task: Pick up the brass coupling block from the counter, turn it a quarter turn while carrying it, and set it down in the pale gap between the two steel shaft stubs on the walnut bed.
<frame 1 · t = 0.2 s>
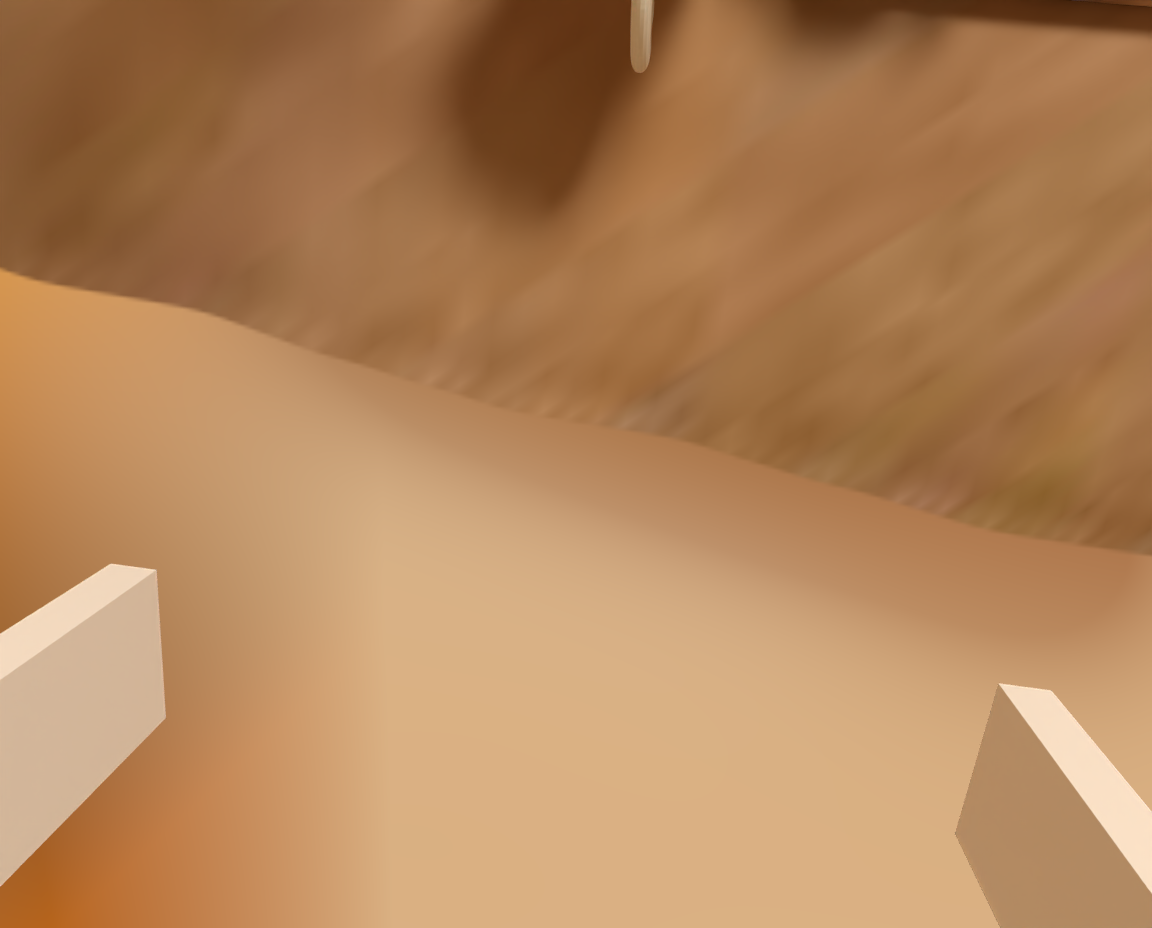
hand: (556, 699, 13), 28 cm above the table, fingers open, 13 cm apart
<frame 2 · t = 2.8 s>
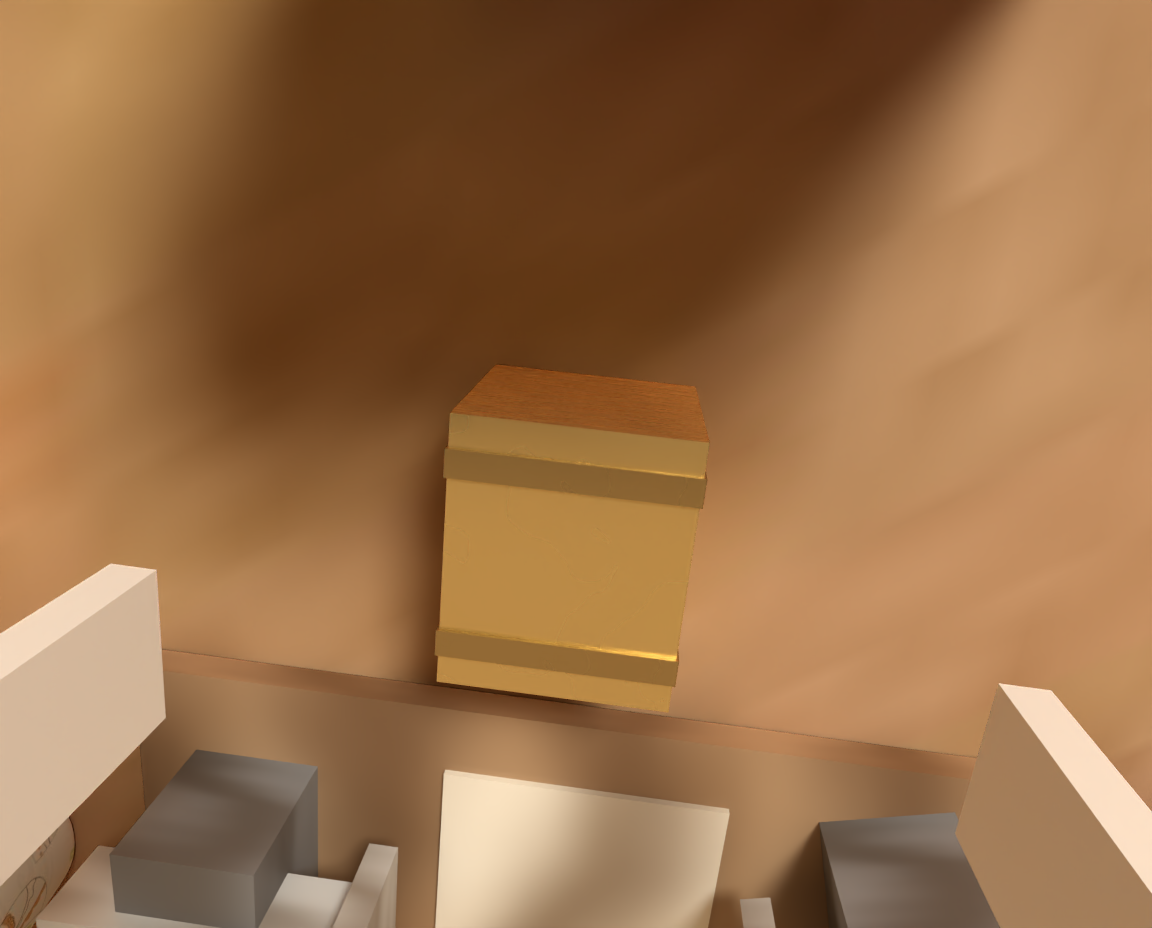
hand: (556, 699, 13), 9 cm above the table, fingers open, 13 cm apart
shaft bed: (576, 860, 25), on the table
mug: (3, 869, 27), on the table
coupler: (583, 488, 21), on the table
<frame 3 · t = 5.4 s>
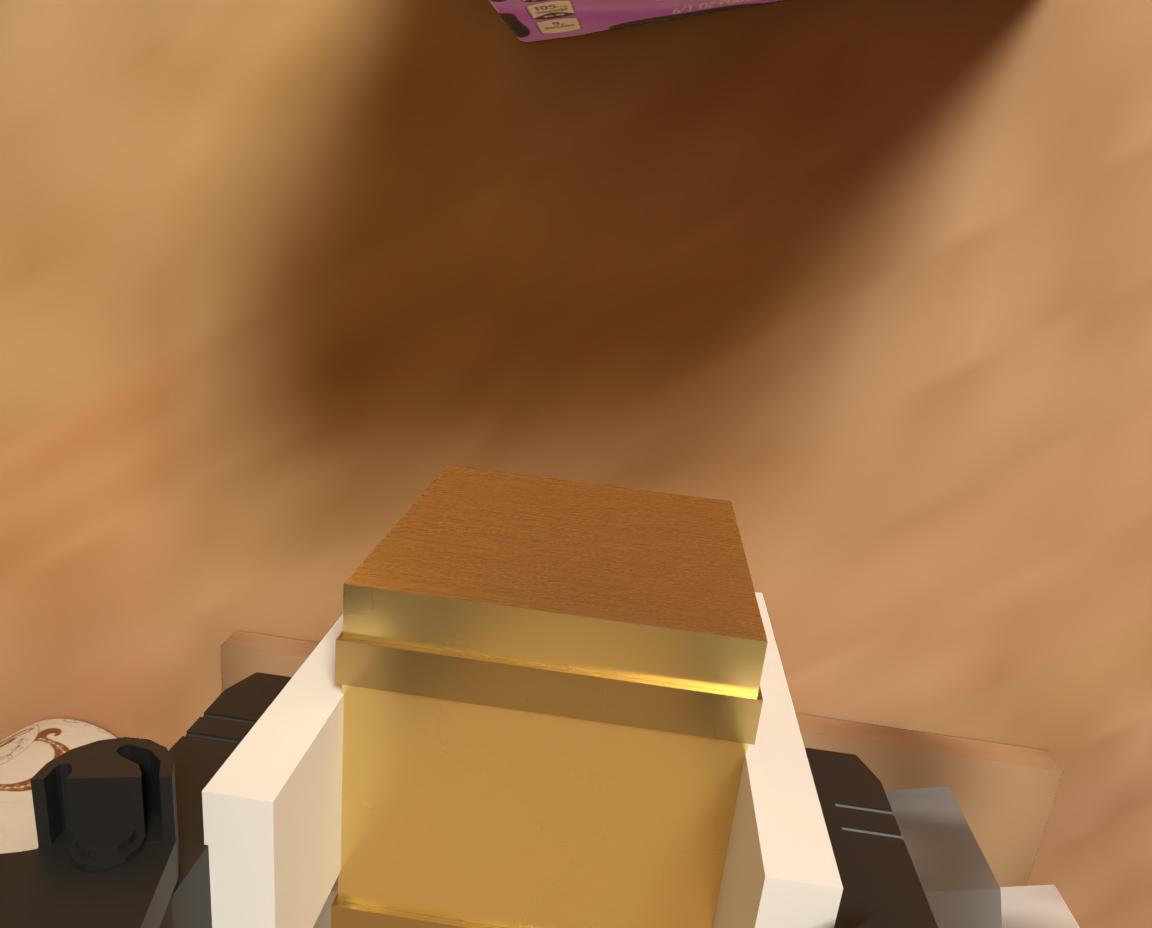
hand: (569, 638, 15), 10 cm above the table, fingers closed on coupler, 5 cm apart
shaft bed: (607, 830, 28), on the table
mug: (91, 833, 30), on the table
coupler: (571, 635, 15), point 10 cm above the table, touching gripper
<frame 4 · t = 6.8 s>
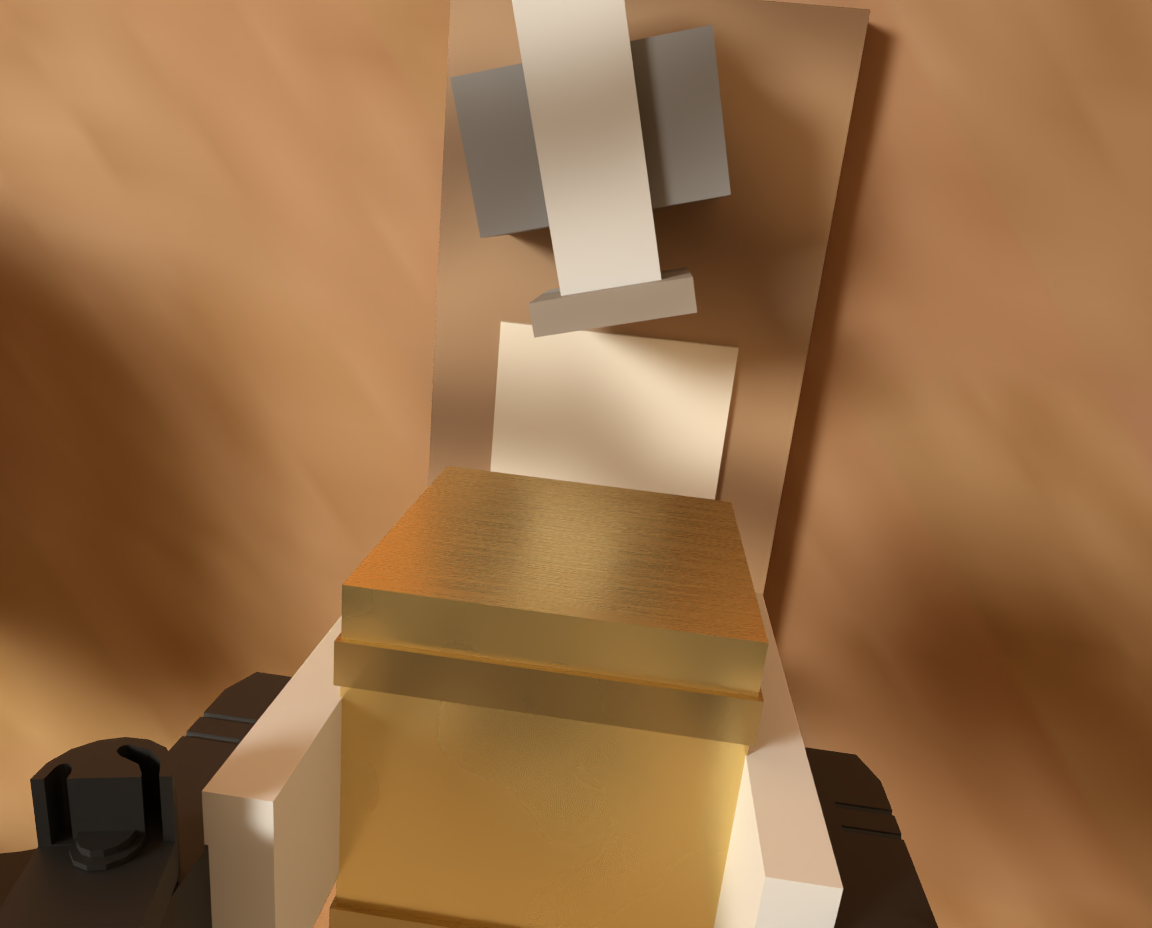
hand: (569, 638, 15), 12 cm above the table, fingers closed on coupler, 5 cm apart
shaft bed: (606, 453, 26), on the table
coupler: (570, 636, 15), point 12 cm above the table, touching gripper
when the fingers open (2 cm above the table, at t = 8.5 s): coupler stays where it is, resting on shaft bed.
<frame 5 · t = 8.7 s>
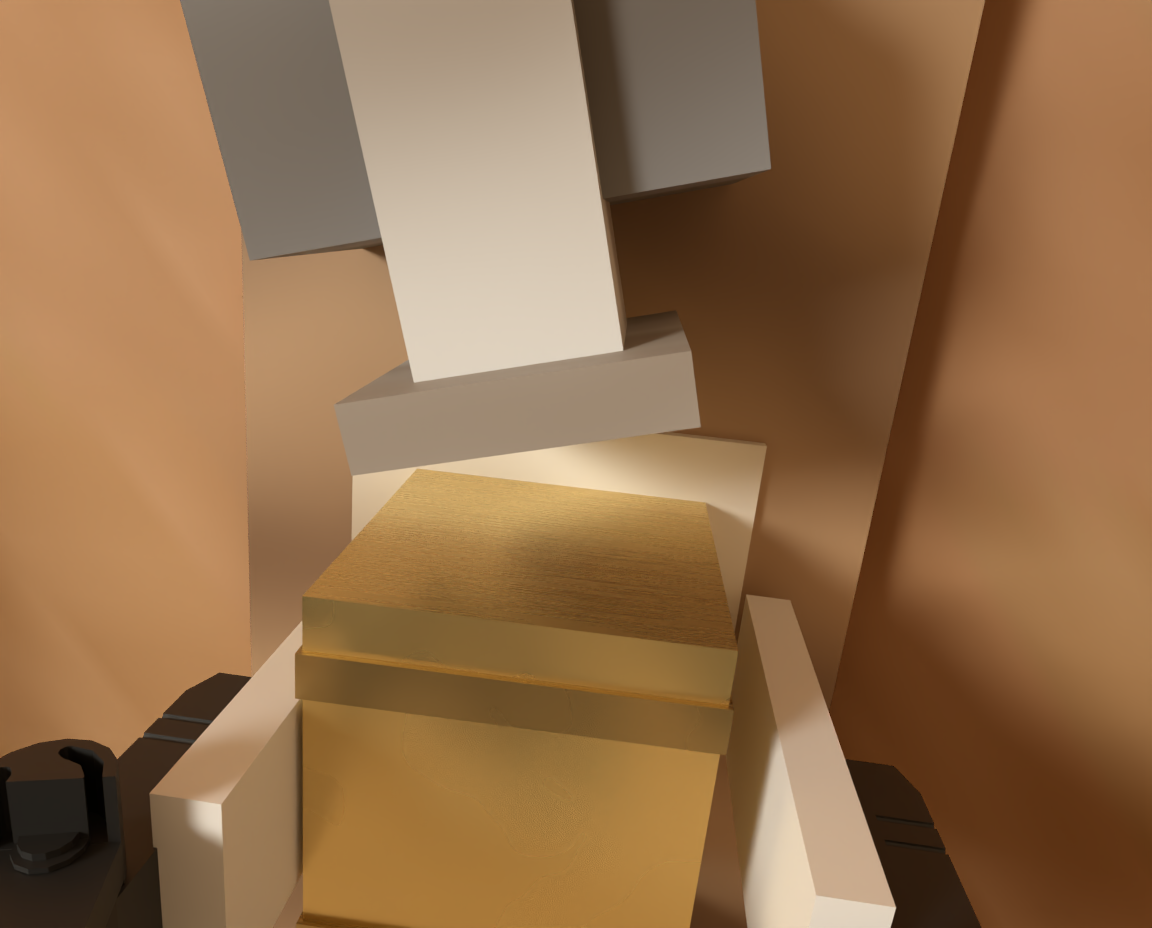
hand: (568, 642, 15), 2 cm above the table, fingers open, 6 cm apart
shaft bed: (545, 604, 16), on the table
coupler: (545, 640, 15), point 1 cm above the table, touching gripper, shaft bed
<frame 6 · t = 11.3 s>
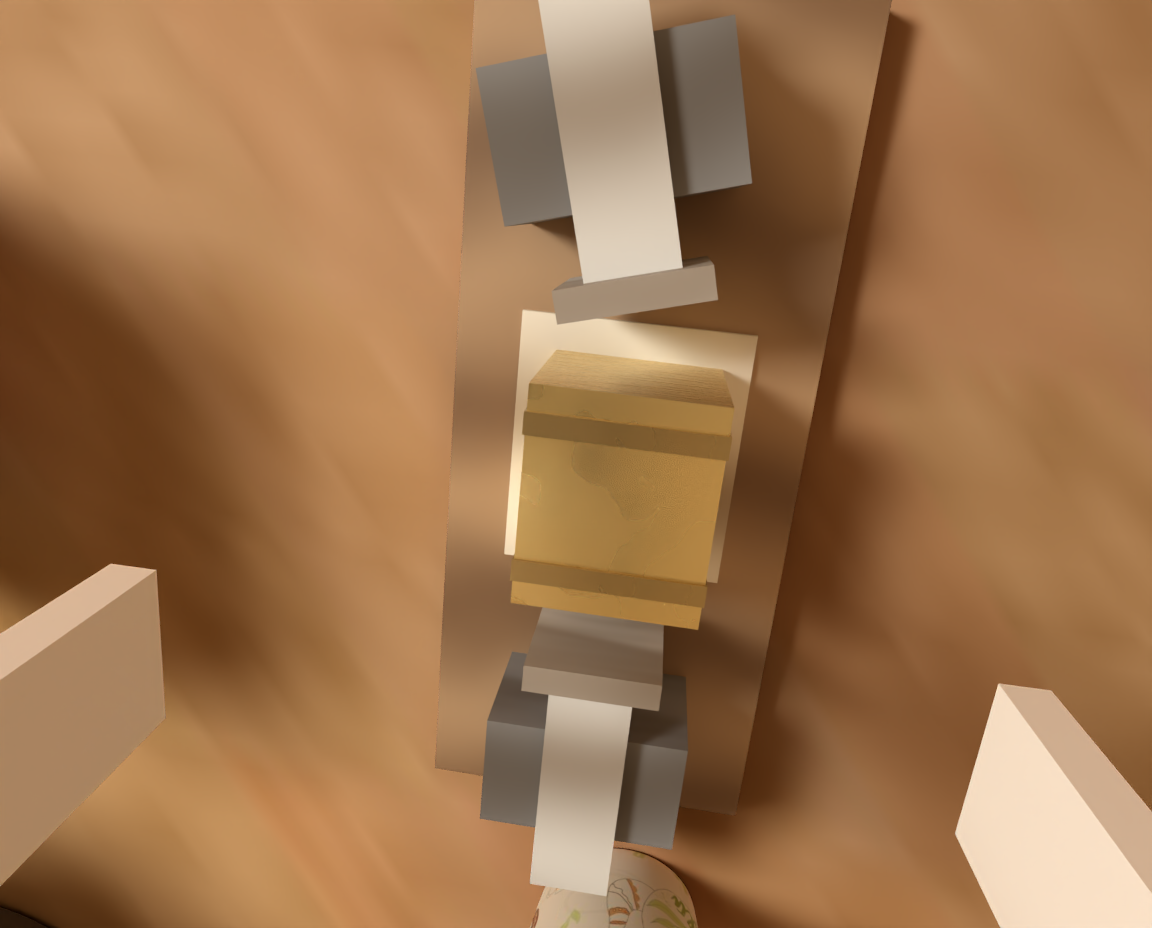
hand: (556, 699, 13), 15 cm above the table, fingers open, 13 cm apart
shaft bed: (625, 441, 26), on the table
mug: (671, 911, 32), on the table
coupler: (626, 454, 25), point 1 cm above the table, touching shaft bed
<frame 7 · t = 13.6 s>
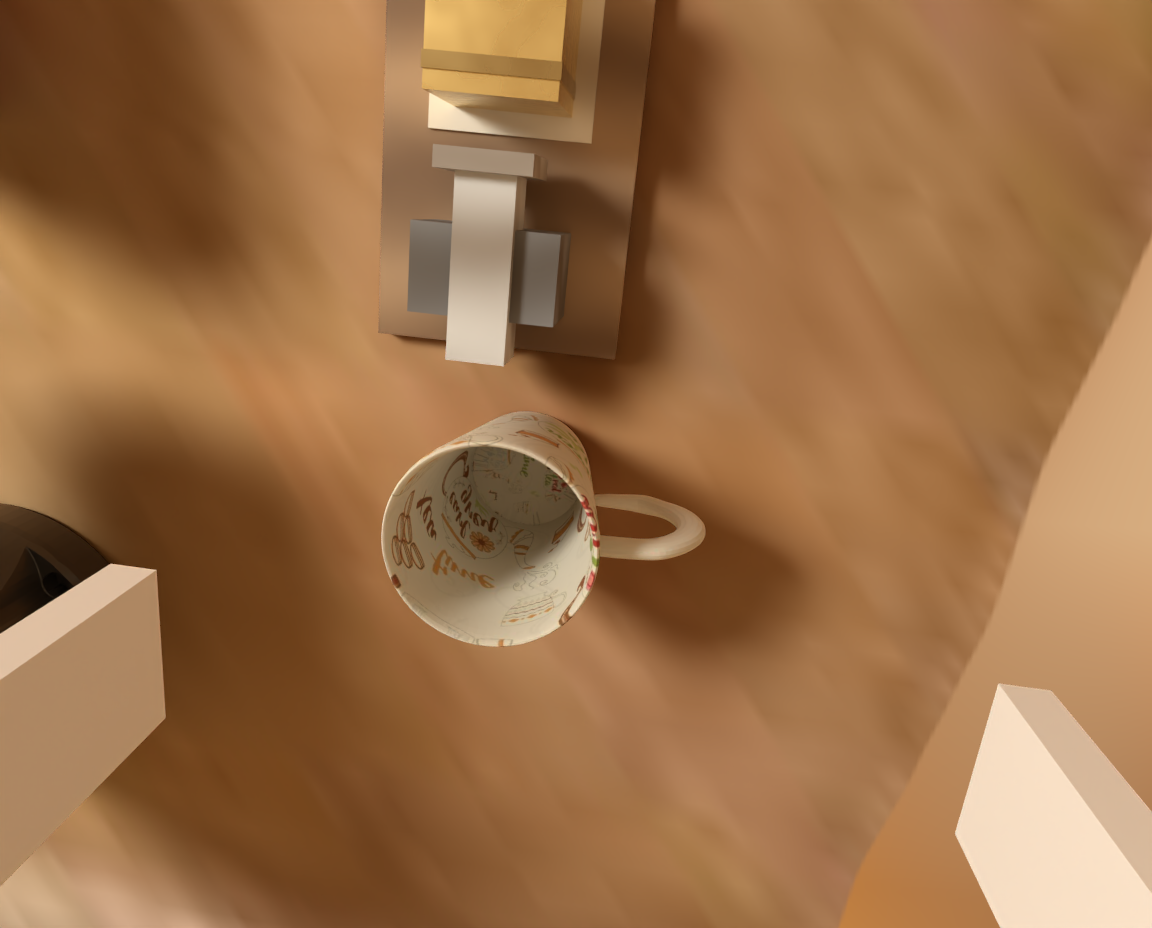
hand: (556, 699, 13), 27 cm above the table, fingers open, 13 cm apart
shaft bed: (520, 36, 34), on the table
mug: (572, 472, 40), on the table
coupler: (518, 32, 33), point 1 cm above the table, touching shaft bed
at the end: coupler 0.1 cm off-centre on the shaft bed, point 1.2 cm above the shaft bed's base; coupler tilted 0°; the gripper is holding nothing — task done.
